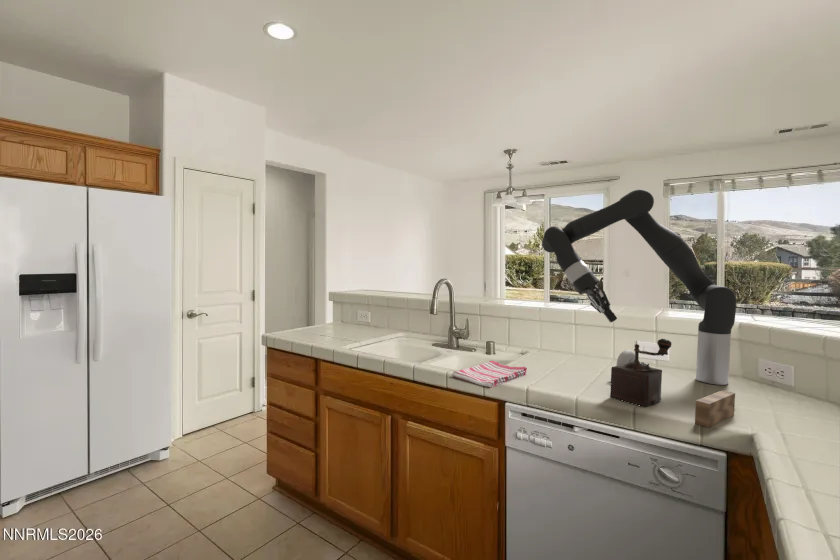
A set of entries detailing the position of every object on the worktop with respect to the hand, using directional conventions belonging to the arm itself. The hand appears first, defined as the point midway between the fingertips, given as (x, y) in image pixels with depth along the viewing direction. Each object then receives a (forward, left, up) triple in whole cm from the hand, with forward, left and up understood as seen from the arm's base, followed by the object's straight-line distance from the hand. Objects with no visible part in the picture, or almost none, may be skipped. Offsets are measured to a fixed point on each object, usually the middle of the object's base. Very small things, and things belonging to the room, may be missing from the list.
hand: (614, 320), depth 132 cm
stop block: (+1, +30, -22) cm, 37 cm away
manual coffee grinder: (+1, +10, -22) cm, 24 cm away
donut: (-16, -4, -22) cm, 28 cm away
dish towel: (+24, -31, -23) cm, 45 cm away
